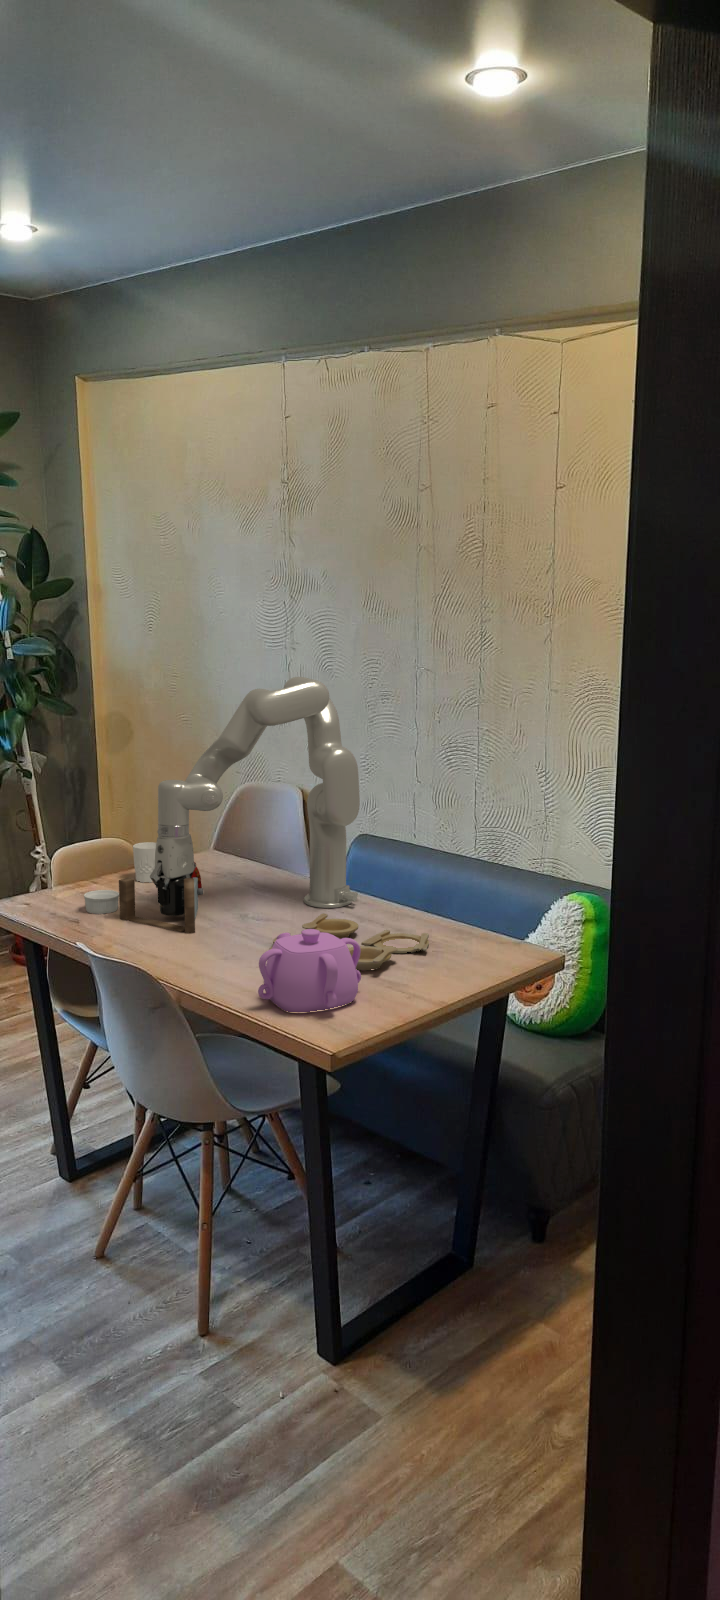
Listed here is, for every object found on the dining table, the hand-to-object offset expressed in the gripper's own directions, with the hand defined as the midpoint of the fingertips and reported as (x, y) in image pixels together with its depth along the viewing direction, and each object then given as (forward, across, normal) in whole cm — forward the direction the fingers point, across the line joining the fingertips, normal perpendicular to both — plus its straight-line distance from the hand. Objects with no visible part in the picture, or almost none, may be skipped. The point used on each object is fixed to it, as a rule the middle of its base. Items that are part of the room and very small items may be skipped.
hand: (173, 900), depth 277 cm
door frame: (+5, -6, 0) cm, 8 cm away
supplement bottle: (+3, 0, 0) cm, 3 cm away
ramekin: (+6, -4, +20) cm, 22 cm away
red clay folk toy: (+5, +20, +12) cm, 24 cm away
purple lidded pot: (+5, -26, -58) cm, 64 cm away
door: (+4, +3, -5) cm, 7 cm away
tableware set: (+5, +4, -50) cm, 50 cm away
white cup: (+5, +25, +31) cm, 41 cm away
